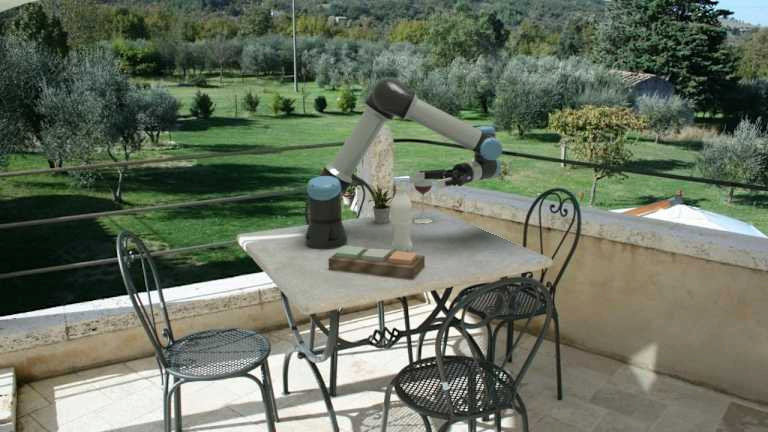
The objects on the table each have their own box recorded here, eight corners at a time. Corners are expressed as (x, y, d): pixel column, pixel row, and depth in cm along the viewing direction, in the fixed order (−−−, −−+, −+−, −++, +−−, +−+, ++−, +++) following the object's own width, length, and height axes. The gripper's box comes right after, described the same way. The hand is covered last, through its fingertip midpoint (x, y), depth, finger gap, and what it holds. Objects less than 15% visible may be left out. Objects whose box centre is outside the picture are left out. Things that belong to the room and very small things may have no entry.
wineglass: (435, 218, 251) (435, 170, 246) (429, 224, 243) (430, 175, 238) (416, 217, 254) (416, 169, 248) (410, 223, 246) (410, 174, 241)
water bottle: (412, 250, 213) (412, 179, 206) (411, 256, 206) (411, 183, 199) (392, 249, 214) (391, 179, 207) (390, 256, 207) (389, 183, 200)
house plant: (354, 222, 248) (352, 183, 244) (376, 215, 258) (375, 177, 254) (381, 228, 239) (380, 187, 235) (403, 220, 250) (402, 181, 245)
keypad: (328, 269, 196) (328, 258, 195) (344, 257, 207) (343, 247, 206) (412, 279, 186) (412, 268, 185) (424, 266, 197) (424, 255, 196)
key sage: (336, 260, 197) (335, 252, 196) (345, 253, 203) (344, 245, 203) (356, 263, 194) (356, 254, 194) (365, 256, 201) (365, 247, 200)
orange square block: (388, 266, 191) (388, 258, 190) (396, 259, 197) (396, 251, 196) (410, 269, 188) (410, 260, 188) (417, 261, 195) (417, 253, 194)
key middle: (361, 263, 194) (361, 255, 193) (370, 256, 200) (370, 248, 200) (383, 265, 191) (383, 257, 191) (391, 258, 198) (391, 250, 197)
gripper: (492, 188, 214) (449, 198, 201) (442, 178, 233) (399, 187, 220) (493, 166, 212) (449, 176, 199) (442, 158, 231) (399, 166, 218)
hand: (423, 181), depth 210 cm, fingers open, 13 cm apart
